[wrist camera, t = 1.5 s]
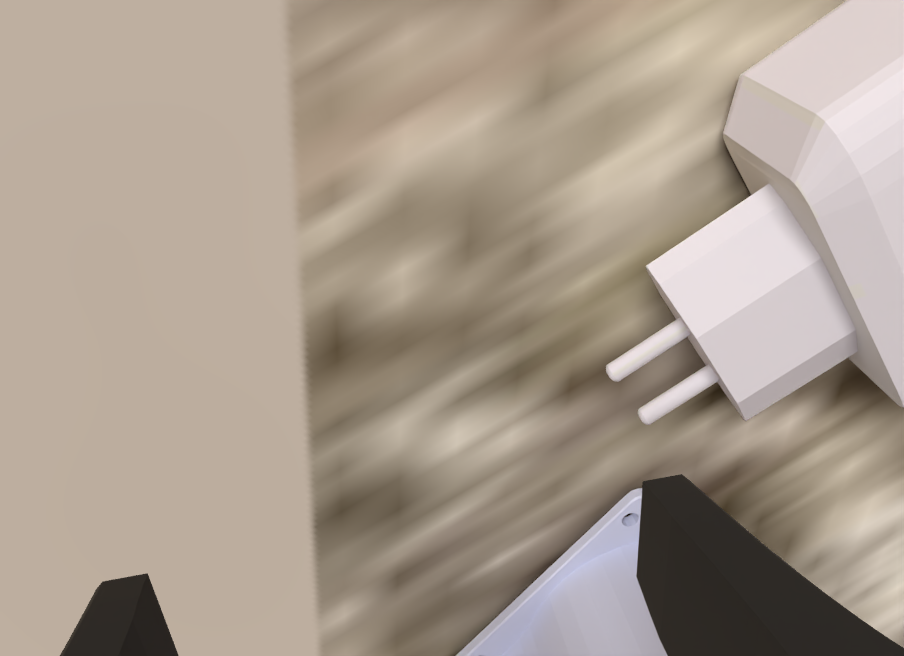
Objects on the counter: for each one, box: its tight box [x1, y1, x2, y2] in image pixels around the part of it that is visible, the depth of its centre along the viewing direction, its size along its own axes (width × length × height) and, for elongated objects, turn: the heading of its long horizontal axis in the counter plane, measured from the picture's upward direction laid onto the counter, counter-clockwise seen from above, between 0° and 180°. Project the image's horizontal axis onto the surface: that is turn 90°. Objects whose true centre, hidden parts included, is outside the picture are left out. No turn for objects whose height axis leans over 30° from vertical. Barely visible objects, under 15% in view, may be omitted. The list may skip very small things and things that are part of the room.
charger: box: [606, 0, 904, 425], centre depth 20 cm, size 5×9×15 cm
